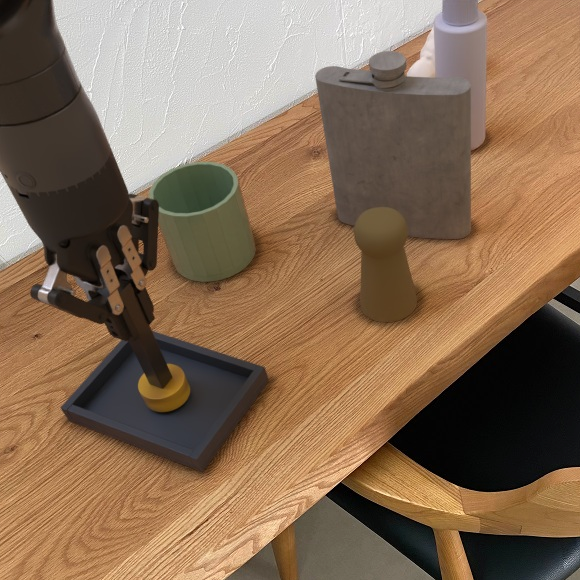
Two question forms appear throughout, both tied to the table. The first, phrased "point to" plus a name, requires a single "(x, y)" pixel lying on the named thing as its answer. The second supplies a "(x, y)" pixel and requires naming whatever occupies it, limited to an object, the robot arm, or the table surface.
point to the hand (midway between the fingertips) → (135, 328)
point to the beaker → (204, 221)
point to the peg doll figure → (384, 265)
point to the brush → (153, 361)
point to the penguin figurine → (425, 60)
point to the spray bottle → (464, 55)
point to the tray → (177, 423)
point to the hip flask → (399, 145)
